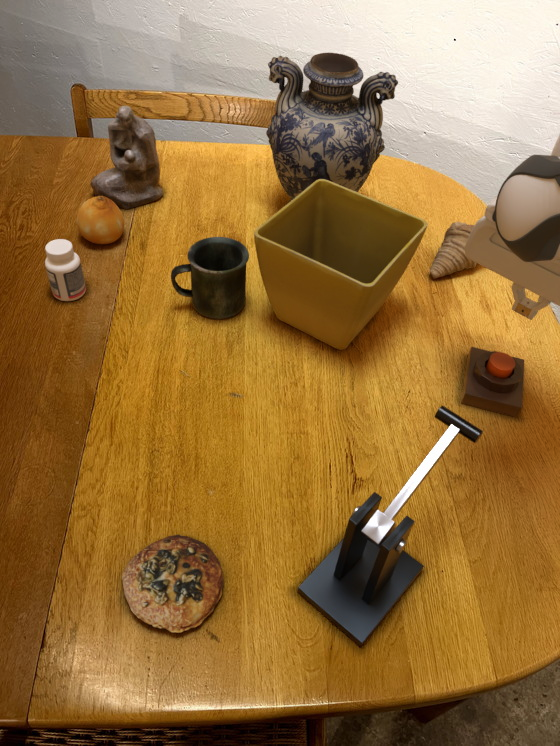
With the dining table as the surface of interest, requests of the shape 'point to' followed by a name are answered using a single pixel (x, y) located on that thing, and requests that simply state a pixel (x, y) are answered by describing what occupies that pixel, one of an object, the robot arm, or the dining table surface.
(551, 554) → the dining table surface
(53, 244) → the pill bottle
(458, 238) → the seashell
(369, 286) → the flower pot
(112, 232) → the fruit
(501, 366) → the button
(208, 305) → the mug
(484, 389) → the button block
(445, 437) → the lever
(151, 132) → the figurine
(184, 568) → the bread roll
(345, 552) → the bracket
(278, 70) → the decorative vase
